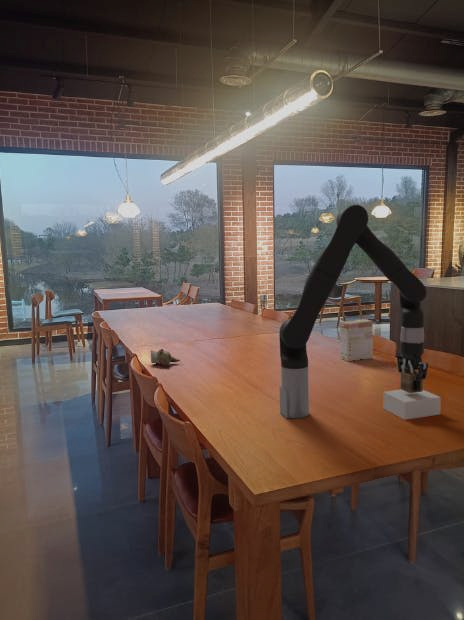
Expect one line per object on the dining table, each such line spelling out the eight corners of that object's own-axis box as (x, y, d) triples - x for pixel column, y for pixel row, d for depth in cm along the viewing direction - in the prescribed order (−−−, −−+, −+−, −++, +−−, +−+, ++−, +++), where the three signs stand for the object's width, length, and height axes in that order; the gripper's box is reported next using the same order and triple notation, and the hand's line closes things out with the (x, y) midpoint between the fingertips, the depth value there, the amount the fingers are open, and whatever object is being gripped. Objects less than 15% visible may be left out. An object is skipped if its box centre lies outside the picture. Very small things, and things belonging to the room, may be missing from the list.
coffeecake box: (364, 355, 244) (365, 318, 241) (373, 358, 237) (373, 320, 234) (339, 358, 239) (339, 321, 237) (347, 361, 232) (347, 323, 230)
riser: (404, 419, 154) (404, 402, 153) (383, 408, 165) (383, 391, 164) (440, 414, 157) (440, 397, 157) (416, 403, 169) (417, 387, 168)
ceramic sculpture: (157, 345, 246) (181, 348, 239) (157, 361, 247) (181, 365, 240) (144, 349, 237) (168, 353, 230) (144, 366, 238) (169, 370, 231)
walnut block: (409, 393, 157) (410, 375, 156) (400, 389, 162) (400, 372, 161) (422, 391, 159) (422, 374, 158) (412, 387, 163) (413, 370, 163)
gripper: (389, 337, 164) (389, 384, 166) (416, 344, 150) (415, 395, 152) (408, 335, 166) (407, 381, 168) (436, 342, 152) (435, 393, 154)
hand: (411, 388), depth 160 cm, fingers closed on walnut block, 5 cm apart
